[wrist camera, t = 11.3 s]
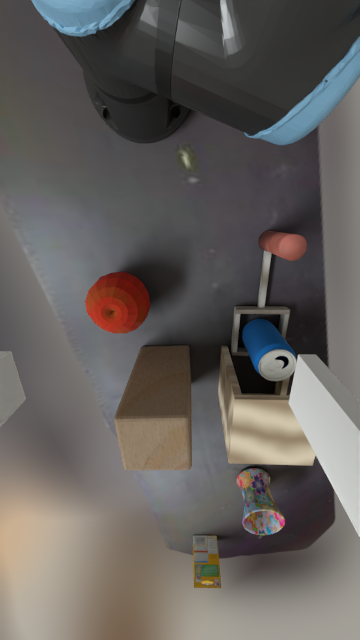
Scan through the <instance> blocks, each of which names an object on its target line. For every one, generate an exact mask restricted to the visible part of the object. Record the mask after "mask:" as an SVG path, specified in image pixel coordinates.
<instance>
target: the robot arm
mask: <svg viewBox="0 0 360 640" xmlns="http://www.w3.org/2000/svg"><path fill="white" fill-rule="evenodd" d="M32 2H33V4H34V5H35V7H36V9H37V10H38V11H39V13H40V14H41V15H42V16H43V18H44V19H45V20H47V21H48V22H49V24H50V25H51V26H52V27H53V29H54V30H55V31H56V33H57V34H58V35H59V37H60V38H61V40H62V41H63V42H64V44H65V45H66V46H67V48H68V49H69V51H70V52H71V53H72V55H73V56H74V57H75V59H76V60H77V62H78V63H79V64H80V66H81V67H82V69H83V74H84V79H85V84H86V87H87V90H88V93H89V96H90V98H91V100H92V103H93V105H94V107H95V108H96V110H97V112H98V113H99V115H100V116H101V117H102V118H103V120H104V121H105V122H106V123H107V124H108V125H109V127H110V128H111V129H112V130H114V131H115V132H116V133H117V134H119V135H120V136H122V137H123V138H125V139H127V140H130V141H133V142H137V143H153V142H157V141H160V140H162V139H164V138H166V137H168V136H169V135H171V134H172V133H173V132H174V131H176V130H177V129H178V127H179V126H180V125H181V124H182V123H183V121H184V120H185V118H186V116H187V115H188V113H189V111H190V109H192V110H194V111H196V112H199V113H201V114H203V115H206V116H208V117H210V118H213V119H215V120H217V121H220V122H222V123H224V124H226V125H229V126H231V127H233V128H236V129H238V130H240V131H243V132H244V134H245V135H246V136H248V137H249V138H260V139H263V140H265V141H268V142H271V143H274V144H277V145H287V144H292V143H294V142H296V141H298V140H300V139H302V138H303V137H305V136H306V135H307V134H309V133H310V132H311V131H312V130H314V129H315V128H316V127H317V126H318V125H319V124H320V123H321V122H322V121H323V120H324V119H325V118H326V117H327V116H328V115H329V114H330V113H331V112H332V110H333V109H334V108H335V107H336V106H337V105H338V103H339V102H340V101H341V100H342V99H343V98H344V96H345V95H346V94H347V93H348V91H349V90H350V89H351V87H352V86H353V85H354V83H355V82H356V81H357V79H358V78H359V76H360V0H32ZM24 400H26V397H25V394H24V391H23V388H22V385H21V381H20V378H19V375H18V372H17V368H16V365H15V362H14V359H13V356H12V353H11V352H10V351H6V352H5V351H0V427H1V426H2V425H3V424H4V423H5V421H6V420H7V419H8V418H9V417H10V416H11V415H12V414H13V413H14V412H15V411H16V409H17V408H18V407H19V406H20V405H21V404H22V403H23V402H24ZM288 404H289V406H290V407H291V409H292V411H293V413H294V415H295V417H296V419H297V421H298V422H299V424H300V426H301V428H302V430H303V432H304V434H305V436H306V437H307V439H308V441H309V443H310V445H311V447H312V449H313V451H314V452H315V454H316V456H317V458H318V460H319V462H320V464H321V466H322V467H323V469H324V471H325V473H326V475H327V477H328V479H329V481H330V483H331V484H332V486H333V488H334V490H335V492H336V494H337V496H338V497H339V499H340V501H341V503H342V505H343V507H344V509H345V511H346V513H347V514H348V516H349V518H350V520H351V522H352V524H353V526H354V528H355V529H356V531H357V533H358V535H359V537H360V402H359V400H357V398H356V397H355V396H354V395H353V394H352V393H351V392H350V391H349V390H348V389H347V388H346V386H345V385H344V384H343V383H342V382H341V381H340V380H339V379H338V378H337V377H336V376H335V375H334V374H333V372H332V371H331V370H330V369H329V368H328V367H327V366H326V365H325V364H324V363H323V362H322V361H321V359H320V358H319V357H318V356H317V355H314V354H298V358H297V363H296V368H295V373H294V378H293V383H292V388H291V393H290V398H289V403H288Z"/></svg>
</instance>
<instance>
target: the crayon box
mask: <svg viewBox="0 0 360 640" xmlns="http://www.w3.org/2000/svg"><path fill="white" fill-rule="evenodd" d="M193 566H194V588H221V583H220V568H219V555H218V544H217V535H214V536H209V535H208V536H207V535H193ZM201 583H213V585H208V586H207V585H203V584H201Z"/></svg>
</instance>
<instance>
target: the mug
mask: <svg viewBox="0 0 360 640" xmlns="http://www.w3.org/2000/svg"><path fill="white" fill-rule="evenodd" d="M237 484H238V486H239V487H240V489H241V491H242V493H243V498H244V516H243V521H242V523H243V526H244V528H245V529H246V530H247V531H249V532H250V533H253V534H257V535H269V534H273V533H276V532H278V531H279V530H281V529H282V528H283V526H284V524H285V518H284V516H283V515H282V513H281V512H280V511H279V509H278V508H277V506H276V504H275V502H274V500H273V498H272V495H271V492H270V476H269V474H268V473H267V472H266V471H264V470H262V469H258V468H250V469H246V470H244V471H242V472H241V473H240V474H239V475H238V477H237Z"/></svg>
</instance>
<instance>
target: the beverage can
mask: <svg viewBox="0 0 360 640" xmlns="http://www.w3.org/2000/svg"><path fill="white" fill-rule="evenodd" d="M242 340H243V342H244V344H245V347H246V349H247V351H248V354H249V356H250V358H251V360H252V363H253V365H254V367H255V370H256V371H257V372H258V373H259V374H260V375H261V376H263V377H264V378H265V379H267V380H270V381H281V380H284V379H286V378H288V377H289V376H291V375H292V374H293V372H294V371H295V368H296V355H295V352H294V351H293V349H292V348H291V347H290V345H289V344H288V343H287V342H286V340H285V339H284V338H283V337H282V335H281V334H280V333H279V332H278V330H277V329H276V328H275V326H274V325H273V324H272V323H271V322H270V321H268V320H266V319H255V320H252V321H250V322H249V323H247V324H246V325H245V327H244V328H243V331H242Z"/></svg>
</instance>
